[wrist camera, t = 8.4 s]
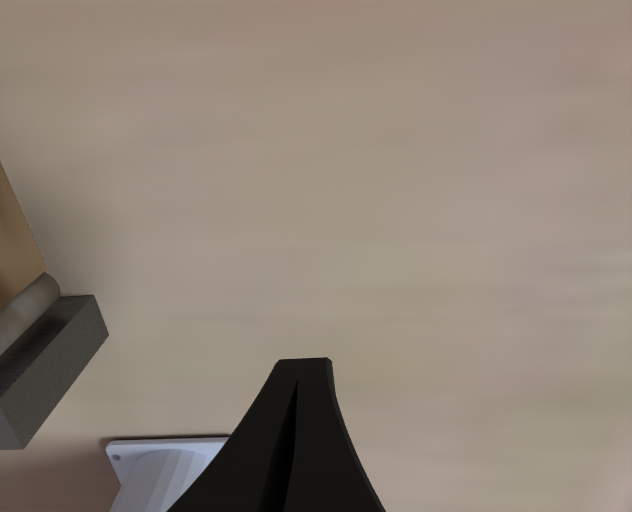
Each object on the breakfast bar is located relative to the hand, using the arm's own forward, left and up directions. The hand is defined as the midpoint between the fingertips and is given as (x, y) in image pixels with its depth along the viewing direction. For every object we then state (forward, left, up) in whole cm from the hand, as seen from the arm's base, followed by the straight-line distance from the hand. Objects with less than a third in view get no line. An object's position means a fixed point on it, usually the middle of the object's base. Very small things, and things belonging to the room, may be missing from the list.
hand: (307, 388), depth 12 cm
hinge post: (-4, +13, -9) cm, 16 cm away
